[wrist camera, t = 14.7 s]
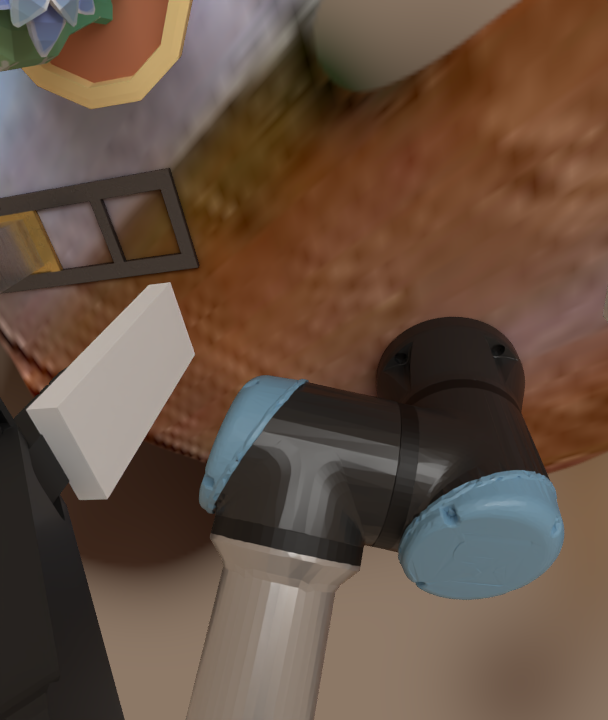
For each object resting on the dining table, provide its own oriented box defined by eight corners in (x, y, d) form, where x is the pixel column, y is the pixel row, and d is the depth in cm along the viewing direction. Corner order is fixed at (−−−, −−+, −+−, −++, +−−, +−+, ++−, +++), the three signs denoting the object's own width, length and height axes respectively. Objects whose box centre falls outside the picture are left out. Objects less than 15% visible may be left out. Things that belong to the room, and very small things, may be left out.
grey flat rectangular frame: (199, 265, 50) (198, 267, 49) (0, 292, 55) (-3, 293, 54) (169, 167, 45) (167, 168, 44) (-46, 206, 50) (-50, 207, 49)
